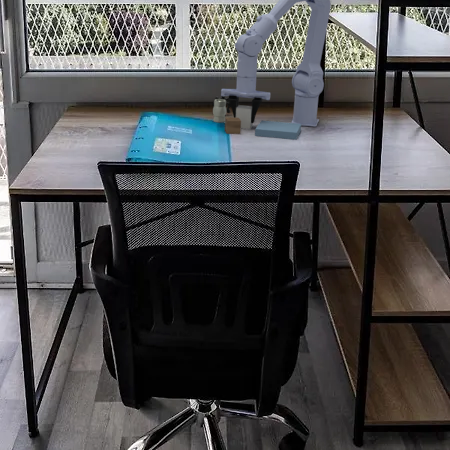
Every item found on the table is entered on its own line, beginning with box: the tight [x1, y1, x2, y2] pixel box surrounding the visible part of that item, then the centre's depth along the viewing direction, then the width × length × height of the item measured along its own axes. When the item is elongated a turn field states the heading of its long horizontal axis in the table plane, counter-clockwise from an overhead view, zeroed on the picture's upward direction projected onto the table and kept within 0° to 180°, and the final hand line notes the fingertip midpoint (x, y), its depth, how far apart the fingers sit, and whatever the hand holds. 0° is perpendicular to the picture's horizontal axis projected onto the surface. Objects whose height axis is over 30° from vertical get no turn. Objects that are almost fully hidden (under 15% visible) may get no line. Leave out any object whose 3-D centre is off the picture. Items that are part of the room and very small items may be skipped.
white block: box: [236, 104, 254, 130], centre depth 248 cm, size 4×4×6 cm
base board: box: [254, 120, 302, 140], centre depth 243 cm, size 12×12×2 cm
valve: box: [212, 95, 231, 123], centre depth 258 cm, size 7×7×12 cm
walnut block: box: [224, 116, 242, 135], centre depth 241 cm, size 4×4×4 cm
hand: (244, 121), depth 248 cm, fingers closed on white block, 4 cm apart
